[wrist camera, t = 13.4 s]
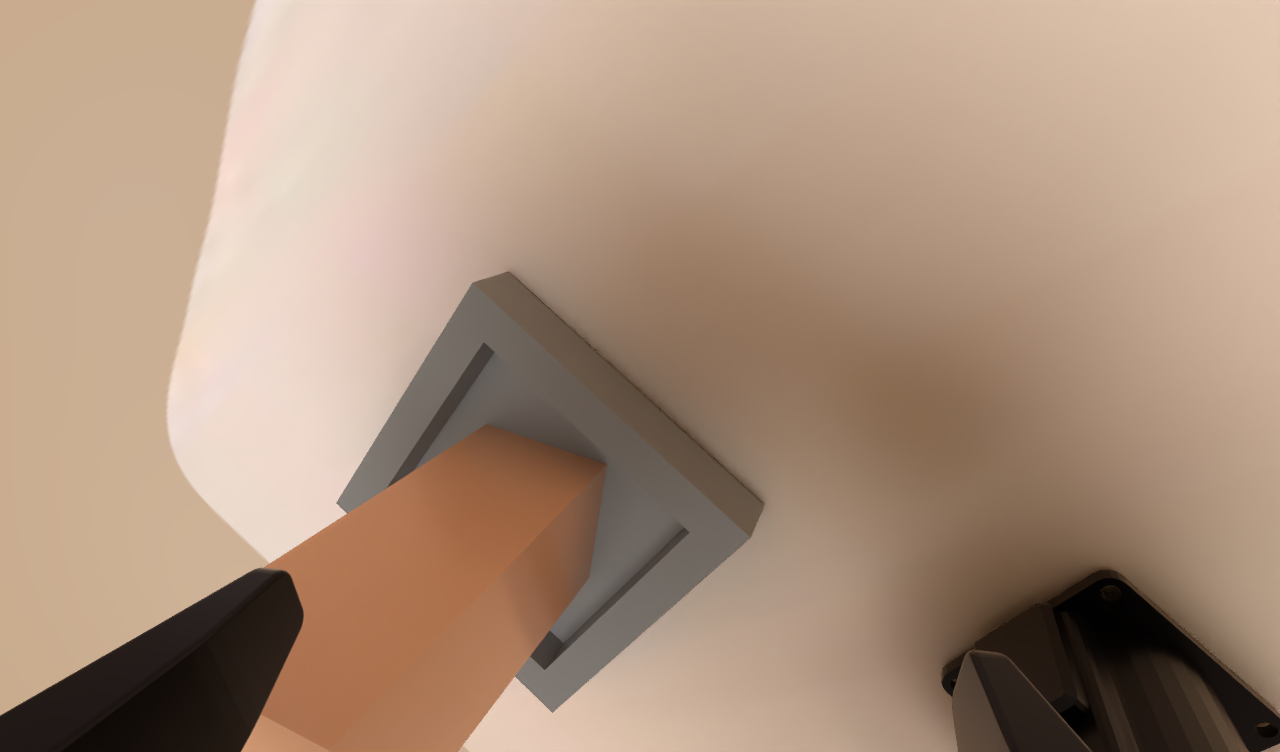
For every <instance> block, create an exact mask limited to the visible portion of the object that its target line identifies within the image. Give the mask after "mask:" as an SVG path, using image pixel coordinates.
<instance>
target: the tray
mask: <svg viewBox="0 0 1280 752" xmlns="http://www.w3.org/2000/svg"><path fill="white" fill-rule="evenodd" d="M486 424H488V425H491V426H494V427H497V428H500V429H503V430H506V431H509V432H512V433H515V434H518V435H521V436H524V437H527V438H530V439H533V440H535V441H538V442H541V443H544V444H547V445H550V446H553V447H556V448H559V449H562V450H565V451H568V452H571V453H574V454H577V455H580V456H583V457H586V458H589V459H592V460H595V461H598V462H601V463H604V464H607V468H606V474H605V481H604V487H603V493H602V500H601V506H600V513H599V519H598V525H597V532H596V538H595V544H594V551H593V557H592V563H591V570H590V576H589V579H588V580H587V582H586V583H585V584H584V586H583V587H582V588H581V590H580V591H579V592H578V593H577V595H576V596H575V597H574V599H573V600H572V601H571V603H570V604H569V605H568V607H567V608H566V609H565V611H564V612H563V613H562V615H561V616H560V617H559V619H558V620H557V621H556V623H555V624H554V625H553V626H552V628H551V629H550V630H549V632H548V633H547V634H546V636H545V637H544V638H543V640H542V641H541V642H540V644H539V645H538V646H537V648H536V649H535V650H534V652H533V653H532V654H531V656H530V657H529V658H528V660H527V661H526V662H525V663H524V665H523V666H522V667H521V669H520V670H519V671H518V673H517V674H516V675H515V677H516V678H517V679H518V680H519V681H520V682H521V683H522V684H523V685H525V686H526V687H527V688H528V689H529V690H530V691H531V692H532V693H533V694H534V695H535V696H536V697H537V698H538V699H539V700H540V701H541V702H542V703H543V704H544V705H545V706H546V707H547V708H548V709H549V710H550V711H551V712H552V713H553V712H554V711H555V710H556V709H557V708H558V707H559V706H560V705H562V704H563V703H564V702H565V701H566V700H567V699H568V698H570V697H571V696H572V695H573V694H574V693H575V692H576V691H577V690H579V689H580V688H581V687H582V686H583V685H584V684H585V683H587V682H588V681H589V680H590V679H591V678H592V677H593V676H594V675H596V674H597V673H598V672H599V671H600V670H601V669H602V668H604V667H605V666H606V665H607V664H608V663H609V662H610V661H611V660H613V659H614V658H615V657H616V656H617V655H618V654H619V653H620V652H622V651H623V650H624V649H625V648H626V647H627V646H628V645H630V644H631V643H632V642H633V641H634V640H635V639H636V638H637V637H639V636H640V635H641V634H642V633H643V632H644V631H645V630H647V629H648V628H649V627H650V626H651V625H652V624H653V623H654V622H656V621H657V620H658V619H659V618H660V617H661V616H662V615H663V614H665V613H666V612H667V611H668V610H669V609H670V608H671V607H673V606H674V605H675V604H676V603H677V602H678V601H679V600H680V599H682V598H683V597H684V596H685V595H686V594H687V593H688V592H690V591H691V590H692V589H693V588H694V587H695V586H696V585H697V584H699V583H700V582H701V581H702V580H703V579H704V578H705V577H707V576H708V575H709V574H710V573H711V572H712V571H713V570H714V569H716V568H717V567H718V566H719V565H720V564H721V563H722V562H723V561H725V560H726V559H727V558H728V557H729V556H730V555H731V554H733V553H734V552H735V551H736V550H737V549H738V548H739V547H740V546H742V545H743V544H744V543H745V542H746V541H747V540H748V539H750V538H751V535H752V533H753V531H754V528H755V526H756V523H757V521H758V519H759V516H760V514H761V512H762V509H763V507H764V504H763V503H762V502H761V501H760V500H759V499H757V498H756V497H755V496H754V495H753V494H752V493H751V492H750V491H749V490H748V489H746V488H745V487H744V486H743V485H742V484H741V483H740V482H739V481H738V480H737V479H735V478H734V477H733V476H732V475H731V474H730V473H729V472H728V471H727V470H726V469H724V468H723V467H722V466H721V465H720V464H719V463H718V462H717V461H716V460H715V459H714V458H712V457H711V456H710V455H709V454H708V453H707V452H706V451H705V450H704V449H703V448H701V447H700V446H699V445H698V444H697V443H696V442H695V441H694V440H693V439H692V438H690V437H689V436H688V435H687V434H686V433H685V432H684V431H683V430H682V429H681V428H679V427H678V426H677V425H676V424H675V423H674V422H673V421H672V420H671V419H670V418H669V417H667V416H666V415H665V414H664V413H663V412H662V411H661V410H660V409H659V408H658V407H656V406H655V405H654V404H653V403H652V402H651V401H650V400H649V399H648V398H647V397H645V396H644V395H643V394H642V393H641V392H640V391H639V390H638V389H637V388H636V387H634V386H633V385H632V384H631V383H630V382H629V381H628V380H627V379H626V378H625V377H623V376H622V375H621V374H620V373H619V372H618V371H617V370H616V369H615V368H614V367H613V366H611V365H610V364H609V363H608V362H607V361H606V360H605V359H604V358H603V357H602V356H600V355H599V354H598V353H597V352H596V351H595V350H594V349H593V348H592V347H591V346H589V345H588V344H587V343H586V342H585V341H584V340H583V339H582V338H581V337H580V336H578V335H577V334H576V333H575V332H574V331H573V330H572V329H571V328H570V327H569V326H568V325H566V324H565V323H564V322H563V321H562V320H561V319H560V318H559V317H558V316H557V315H555V314H554V313H553V312H552V311H551V310H550V309H549V308H548V307H547V306H546V305H544V304H543V303H542V302H541V301H540V300H539V299H538V298H537V297H536V296H535V295H533V294H532V293H531V292H530V291H529V290H528V289H527V288H526V287H525V286H524V285H523V284H521V283H520V282H519V281H518V280H517V279H516V278H515V277H514V276H513V275H512V274H510V273H509V272H506V273H503V274H500V275H497V276H493V277H490V278H487V279H484V280H480V281H477V282H474V283H472V285H471V286H470V288H469V290H468V291H467V293H466V295H465V296H464V298H463V299H462V301H461V303H460V304H459V306H458V307H457V309H456V311H455V312H454V314H453V316H452V317H451V319H450V320H449V322H448V324H447V325H446V327H445V328H444V330H443V332H442V333H441V335H440V337H439V338H438V340H437V341H436V343H435V345H434V346H433V348H432V349H431V351H430V353H429V354H428V356H427V357H426V359H425V361H424V362H423V364H422V366H421V367H420V369H419V370H418V372H417V374H416V375H415V377H414V378H413V380H412V382H411V383H410V385H409V387H408V388H407V390H406V391H405V393H404V395H403V396H402V398H401V399H400V401H399V403H398V404H397V406H396V407H395V409H394V411H393V412H392V414H391V416H390V417H389V419H388V420H387V422H386V424H385V425H384V427H383V428H382V430H381V432H380V433H379V435H378V437H377V438H376V440H375V441H374V443H373V445H372V446H371V448H370V449H369V451H368V453H367V454H366V456H365V458H364V459H363V461H362V462H361V464H360V466H359V467H358V469H357V470H356V472H355V474H354V475H353V477H352V478H351V480H350V482H349V483H348V485H347V487H346V488H345V490H344V491H343V493H342V495H341V496H340V498H339V499H338V501H337V504H338V505H339V506H340V507H341V508H342V509H343V510H344V511H345V512H346V513H347V514H348V513H349V512H351V511H352V510H354V509H355V508H357V507H359V506H360V505H362V504H363V503H365V502H366V501H368V500H369V499H371V498H373V497H374V496H376V495H377V494H379V493H380V492H382V491H383V490H385V489H386V488H388V487H390V486H391V485H393V484H394V483H396V482H397V481H399V480H400V479H402V478H404V477H405V476H407V475H408V474H410V473H411V472H413V471H414V470H416V469H417V468H419V467H421V466H422V465H424V464H425V463H427V462H428V461H430V460H431V459H433V458H435V457H436V456H438V455H439V454H441V453H442V452H444V451H445V450H447V449H448V448H450V447H452V446H453V445H455V444H456V443H458V442H459V441H461V440H462V439H464V438H466V437H467V436H469V435H470V434H472V433H473V432H475V431H476V430H478V429H479V428H481V427H483V426H484V425H486Z"/></svg>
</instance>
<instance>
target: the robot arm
mask: <svg viewBox="0 0 1280 752" xmlns="http://www.w3.org/2000/svg"><path fill="white" fill-rule="evenodd" d="M1108 585H1111V586H1116V587H1117V589H1116V590H1115V591H1114V592H1111V593H1104V592H1102V591H1100V590H1101V589H1102V588H1103V587H1105V586H1108ZM303 619H304V610H303V607H302V604H301V601H300V599H299V596H298V593H297V590H296V588H295V585H294V582H293V580H292V577H291V575H290V574H289V573H288V572H287V571H285V570H280V569H271V568H258V569H254V570H253V571H251V572H249V573H247V574H245V575H244V576H242V577H240V578H238V579H237V580H235V581H233V582H232V583H230V584H228V585H226V586H224V587H223V588H221V589H219V590H217V591H216V592H214V593H212V594H211V595H209V596H207V597H206V598H204V599H202V600H200V601H198V602H197V603H195V604H193V605H192V606H190V607H188V608H186V609H184V610H183V611H181V612H179V613H178V614H176V615H174V616H172V617H171V618H169V619H167V620H165V621H164V622H162V623H160V624H158V625H157V626H155V627H153V628H152V629H150V630H148V631H146V632H145V633H143V634H141V635H139V636H138V637H136V638H134V639H132V640H131V641H129V642H127V643H126V644H124V645H122V646H120V647H119V648H117V649H115V650H113V651H112V652H110V653H108V654H106V655H105V656H103V657H101V658H99V659H98V660H96V661H94V662H92V663H91V664H89V665H87V666H86V667H84V668H82V669H80V670H79V671H77V672H75V673H73V674H72V675H70V676H68V677H66V678H65V679H63V680H61V681H59V682H58V683H56V684H54V685H52V686H51V687H49V688H47V689H46V690H44V691H42V692H40V693H39V694H37V695H35V696H34V697H32V698H30V699H28V700H26V701H25V702H23V703H21V704H20V705H18V706H16V707H14V708H13V709H11V710H9V711H7V712H6V713H4V714H2V715H0V752H241V751H242V749H243V748H244V746H245V744H246V742H247V740H248V739H249V737H250V735H251V733H252V731H253V729H254V727H255V725H256V723H257V721H258V719H259V717H260V715H261V713H262V711H263V709H264V707H265V705H266V703H267V700H268V698H269V696H270V694H271V692H272V690H273V688H274V686H275V683H276V681H277V679H278V677H279V675H280V673H281V671H282V669H283V666H284V664H285V662H286V660H287V658H288V656H289V654H290V652H291V649H292V647H293V645H294V643H295V641H296V639H297V637H298V635H299V632H300V630H301V628H302V624H303ZM954 678H958V679H957V682H955V681H953V680H952V679H954ZM941 679H942V685H943V688H944V689H945V690H946V692H947V693H948V694H949V695H951V696H952V697H953V698H952V711H953V719H954V726H955V733H956V740H957V747H958V752H1261V751H1263V750H1266V749H1268V748H1270V747H1273V746H1275V745H1277V744H1279V743H1280V714H1279V713H1278V711H1276V710H1275V709H1274V708H1273V707H1272V706H1271V705H1270V704H1268V703H1267V702H1266V701H1265V700H1264V699H1263V698H1262V697H1260V696H1259V695H1258V694H1257V693H1256V692H1255V691H1254V690H1252V689H1251V688H1250V687H1249V686H1248V685H1247V684H1246V683H1244V682H1243V681H1242V680H1241V679H1240V678H1239V677H1238V676H1236V675H1235V674H1234V673H1233V672H1232V671H1231V670H1230V669H1228V668H1227V667H1226V666H1225V665H1224V664H1223V663H1222V662H1220V661H1219V660H1218V659H1217V658H1216V657H1215V656H1214V655H1213V654H1211V653H1210V652H1209V651H1208V650H1207V649H1206V648H1205V647H1203V646H1202V645H1201V644H1200V643H1199V642H1198V641H1197V640H1195V639H1194V638H1193V637H1192V636H1191V635H1190V634H1189V633H1187V632H1186V631H1185V630H1184V629H1183V628H1182V627H1181V626H1179V625H1178V624H1177V623H1176V622H1175V621H1174V620H1173V619H1171V618H1170V617H1169V616H1168V615H1167V614H1166V613H1165V612H1163V611H1162V610H1161V609H1160V608H1159V607H1158V606H1157V605H1155V604H1154V603H1153V602H1152V601H1151V600H1150V599H1149V598H1147V597H1146V596H1145V595H1144V594H1143V593H1142V592H1141V591H1139V590H1138V589H1137V588H1136V587H1135V586H1134V585H1133V584H1131V583H1130V582H1129V581H1128V580H1127V579H1126V578H1125V577H1124V576H1122V575H1121V574H1119V573H1117V572H1115V571H1110V570H1101V571H1098V572H1096V573H1093V574H1092V575H1090V576H1088V577H1087V578H1085V579H1084V580H1082V581H1080V582H1079V583H1077V584H1076V585H1074V586H1072V587H1071V588H1069V589H1068V590H1066V591H1064V592H1063V593H1061V594H1060V595H1058V596H1056V597H1055V598H1053V599H1052V600H1050V601H1048V602H1047V603H1038V604H1036V605H1034V606H1033V607H1031V608H1030V609H1028V610H1026V611H1025V612H1023V613H1022V614H1020V615H1018V616H1017V617H1015V618H1014V619H1012V620H1010V621H1009V622H1007V623H1006V624H1004V625H1003V626H1001V627H999V628H998V629H996V630H995V631H993V632H991V633H990V634H988V635H987V636H985V637H983V638H982V639H980V640H979V641H977V642H976V643H975V645H974V648H973V649H971V650H970V651H968V652H967V653H965V654H963V655H962V656H960V657H959V658H957V659H955V660H954V661H952V662H951V663H949V664H947V665H946V666H945V667H944V668H943V669H942V673H941ZM1264 722H1265V723H1270V724H1269V725H1268V726H1265V727H1257V726H1256V725H1258V724H1259V723H1264Z"/></svg>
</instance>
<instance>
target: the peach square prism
mask: <svg viewBox="0 0 1280 752" xmlns="http://www.w3.org/2000/svg"><path fill="white" fill-rule="evenodd" d="M606 468H607V464H604V463H601V462H598V461H595V460H592V459H589V458H586V457H583V456H580V455H577V454H574V453H571V452H568V451H565V450H562V449H559V448H556V447H553V446H550V445H547V444H544V443H541V442H538V441H535V440H533V439H530V438H527V437H524V436H521V435H518V434H515V433H512V432H509V431H506V430H503V429H500V428H497V427H494V426H491V425H488V424H486V425H484V426H483V427H481V428H479V429H478V430H476V431H475V432H473V433H472V434H470V435H469V436H467V437H466V438H464V439H462V440H461V441H459V442H458V443H456V444H455V445H453V446H452V447H450V448H448V449H447V450H445V451H444V452H442V453H441V454H439V455H438V456H436V457H435V458H433V459H431V460H430V461H428V462H427V463H425V464H424V465H422V466H421V467H419V468H417V469H416V470H414V471H413V472H411V473H410V474H408V475H407V476H405V477H404V478H402V479H400V480H399V481H397V482H396V483H394V484H393V485H391V486H390V487H388V488H386V489H385V490H383V491H382V492H380V493H379V494H377V495H376V496H374V497H373V498H371V499H369V500H368V501H366V502H365V503H363V504H362V505H360V506H359V507H357V508H355V509H354V510H352V511H351V512H349V513H348V514H346V515H345V516H343V517H342V518H340V519H338V520H337V521H335V522H334V523H332V524H331V525H329V526H328V527H326V528H324V529H323V530H321V531H320V532H318V533H317V534H315V535H314V536H312V537H311V538H309V539H307V540H306V541H304V542H303V543H301V544H300V545H298V546H297V547H295V548H293V549H292V550H290V551H289V552H287V553H286V554H284V555H283V556H281V557H280V558H278V559H276V560H275V561H273V562H272V563H270V564H269V565H267V566H266V567H264V568H271V569H280V570H285V571H287V572H288V573H289V574H290V575H291V577H292V580H293V582H294V585H295V588H296V590H297V593H298V596H299V599H300V601H301V604H302V607H303V610H304V619H303V624H302V628H301V630H300V632H299V635H298V637H297V639H296V641H295V643H294V645H293V647H292V649H291V652H290V654H289V656H288V658H287V660H286V662H285V664H284V666H283V669H282V671H281V673H280V675H279V677H278V679H277V681H276V683H275V686H274V688H273V690H272V692H271V694H270V696H269V698H268V700H267V703H266V705H265V707H264V709H263V711H262V713H261V715H260V717H259V719H258V721H257V723H256V725H255V727H254V729H253V731H252V733H251V735H250V737H249V739H248V740H247V742H246V744H245V746H244V748H243V749H242V751H241V752H458V751H459V749H460V748H461V747H462V745H463V744H464V743H465V741H466V740H467V739H468V737H469V736H470V735H471V733H472V732H473V731H474V730H475V728H476V727H477V726H478V724H479V723H480V722H481V720H482V719H483V718H484V716H485V715H486V714H487V712H488V711H489V710H490V708H491V707H492V706H493V704H494V703H495V702H496V700H497V699H498V698H499V697H500V695H501V694H502V693H503V691H504V690H505V689H506V687H507V686H508V685H509V683H510V682H511V681H512V679H513V678H514V677H515V675H516V674H517V673H518V671H519V670H520V669H521V667H522V666H523V665H524V663H525V662H526V661H527V660H528V658H529V657H530V656H531V654H532V653H533V652H534V650H535V649H536V648H537V646H538V645H539V644H540V642H541V641H542V640H543V638H544V637H545V636H546V634H547V633H548V632H549V630H550V629H551V628H552V626H553V625H554V624H555V623H556V621H557V620H558V619H559V617H560V616H561V615H562V613H563V612H564V611H565V609H566V608H567V607H568V605H569V604H570V603H571V601H572V600H573V599H574V597H575V596H576V595H577V593H578V592H579V591H580V590H581V588H582V587H583V586H584V584H585V583H586V582H587V580H588V579H589V576H590V570H591V563H592V557H593V551H594V544H595V538H596V532H597V525H598V519H599V513H600V506H601V500H602V493H603V487H604V481H605V474H606Z"/></svg>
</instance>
